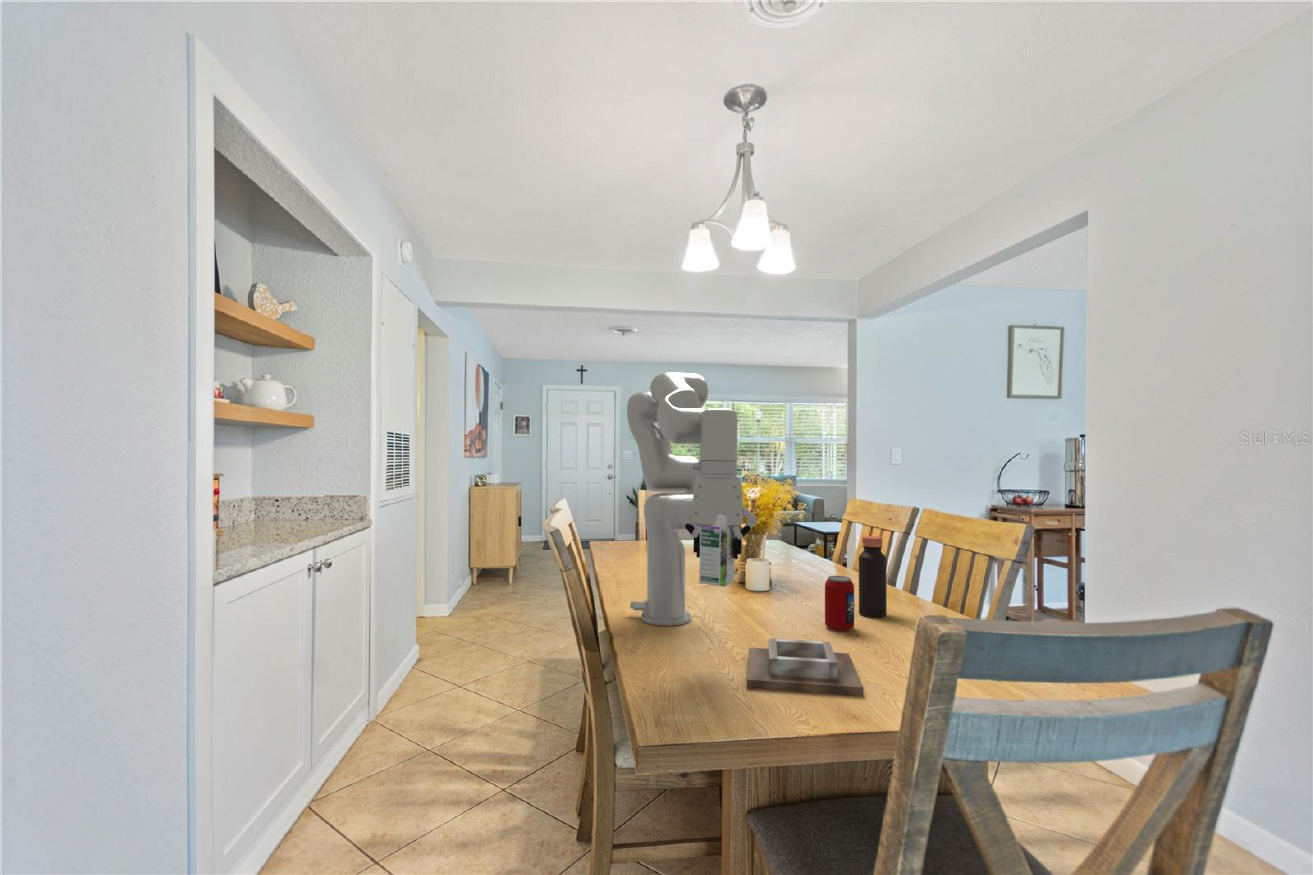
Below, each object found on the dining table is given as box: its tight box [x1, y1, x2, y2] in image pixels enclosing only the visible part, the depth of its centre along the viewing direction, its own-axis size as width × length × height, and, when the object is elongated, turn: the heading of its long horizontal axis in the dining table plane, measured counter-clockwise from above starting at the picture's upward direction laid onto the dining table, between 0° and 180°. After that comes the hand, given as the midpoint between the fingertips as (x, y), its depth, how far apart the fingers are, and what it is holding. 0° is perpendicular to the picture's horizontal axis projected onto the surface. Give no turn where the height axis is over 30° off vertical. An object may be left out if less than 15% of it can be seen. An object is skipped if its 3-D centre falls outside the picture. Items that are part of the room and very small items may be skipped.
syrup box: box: [698, 514, 736, 588], centre depth 123 cm, size 6×6×14 cm
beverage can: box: [824, 575, 855, 632], centre depth 146 cm, size 7×7×12 cm
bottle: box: [858, 535, 888, 619], centre depth 158 cm, size 7×7×20 cm
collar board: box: [746, 638, 864, 697], centre depth 116 cm, size 20×18×4 cm
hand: (717, 556), depth 123 cm, fingers closed on syrup box, 6 cm apart
